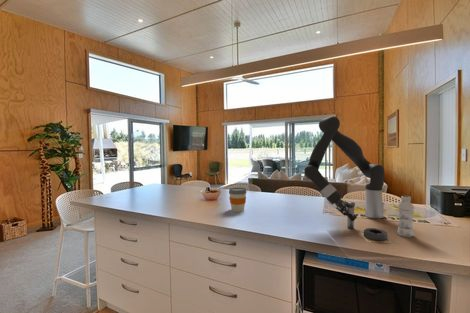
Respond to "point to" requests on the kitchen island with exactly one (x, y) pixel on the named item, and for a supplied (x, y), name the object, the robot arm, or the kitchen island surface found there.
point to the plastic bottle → (405, 217)
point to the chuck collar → (375, 234)
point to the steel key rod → (351, 209)
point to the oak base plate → (376, 241)
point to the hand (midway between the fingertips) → (354, 219)
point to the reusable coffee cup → (237, 198)
